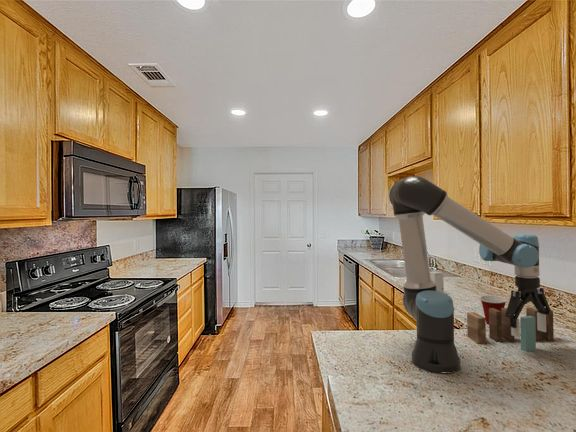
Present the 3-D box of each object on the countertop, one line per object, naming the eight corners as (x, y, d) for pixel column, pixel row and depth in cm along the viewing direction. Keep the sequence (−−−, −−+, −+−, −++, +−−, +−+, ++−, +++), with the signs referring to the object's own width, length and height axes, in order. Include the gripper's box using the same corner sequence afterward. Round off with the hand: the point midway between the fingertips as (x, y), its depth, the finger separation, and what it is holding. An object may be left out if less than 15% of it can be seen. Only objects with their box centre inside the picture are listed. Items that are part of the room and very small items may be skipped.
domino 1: (496, 342, 132) (496, 311, 132) (489, 337, 137) (488, 308, 137) (501, 342, 132) (501, 311, 132) (494, 337, 137) (493, 308, 137)
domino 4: (535, 349, 125) (535, 317, 125) (526, 351, 123) (525, 318, 123) (530, 347, 126) (529, 315, 126) (520, 349, 125) (520, 317, 125)
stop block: (478, 343, 131) (477, 318, 131) (467, 336, 139) (467, 312, 139) (485, 343, 131) (485, 318, 131) (474, 336, 139) (474, 312, 139)
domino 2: (509, 342, 132) (509, 311, 132) (501, 337, 137) (501, 308, 137) (514, 342, 132) (514, 311, 132) (506, 337, 137) (506, 307, 137)
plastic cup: (477, 325, 153) (477, 298, 153) (481, 318, 161) (481, 293, 161) (506, 329, 146) (505, 301, 146) (508, 323, 155) (508, 296, 155)
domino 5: (548, 341, 132) (547, 311, 132) (539, 337, 137) (538, 307, 137) (553, 341, 132) (553, 310, 132) (544, 337, 137) (543, 307, 137)
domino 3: (535, 341, 132) (535, 311, 132) (526, 337, 137) (526, 307, 137) (540, 341, 132) (540, 311, 132) (531, 337, 137) (531, 307, 137)
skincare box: (435, 297, 203) (434, 273, 203) (426, 295, 209) (426, 271, 209) (444, 296, 207) (444, 271, 207) (436, 294, 213) (435, 270, 213)
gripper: (512, 281, 117) (514, 342, 117) (561, 274, 125) (563, 332, 125) (492, 277, 124) (494, 335, 124) (540, 271, 132) (542, 326, 132)
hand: (528, 333), depth 125 cm, fingers open, 13 cm apart
